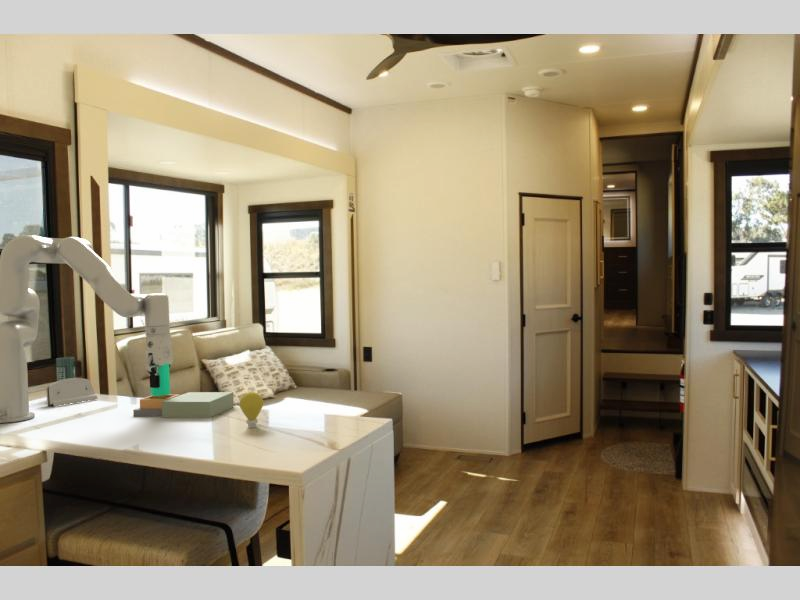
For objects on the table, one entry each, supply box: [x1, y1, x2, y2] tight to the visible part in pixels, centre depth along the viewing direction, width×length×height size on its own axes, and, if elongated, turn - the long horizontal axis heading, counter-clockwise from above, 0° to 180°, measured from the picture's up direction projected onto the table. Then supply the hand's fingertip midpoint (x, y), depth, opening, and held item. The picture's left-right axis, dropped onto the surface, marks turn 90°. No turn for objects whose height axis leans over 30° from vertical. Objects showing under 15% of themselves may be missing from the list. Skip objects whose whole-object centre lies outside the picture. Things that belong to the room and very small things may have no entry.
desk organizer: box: [133, 391, 234, 419], centre depth 216 cm, size 18×27×5 cm, turn 81°
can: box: [55, 356, 76, 382], centre depth 254 cm, size 6×6×15 cm
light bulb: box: [239, 391, 264, 429], centre depth 190 cm, size 7×7×10 cm
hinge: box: [45, 377, 99, 407], centre depth 240 cm, size 17×5×10 cm, turn 144°
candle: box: [150, 363, 171, 396], centre depth 217 cm, size 6×6×12 cm
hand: (159, 385), depth 217 cm, fingers closed on candle, 5 cm apart
